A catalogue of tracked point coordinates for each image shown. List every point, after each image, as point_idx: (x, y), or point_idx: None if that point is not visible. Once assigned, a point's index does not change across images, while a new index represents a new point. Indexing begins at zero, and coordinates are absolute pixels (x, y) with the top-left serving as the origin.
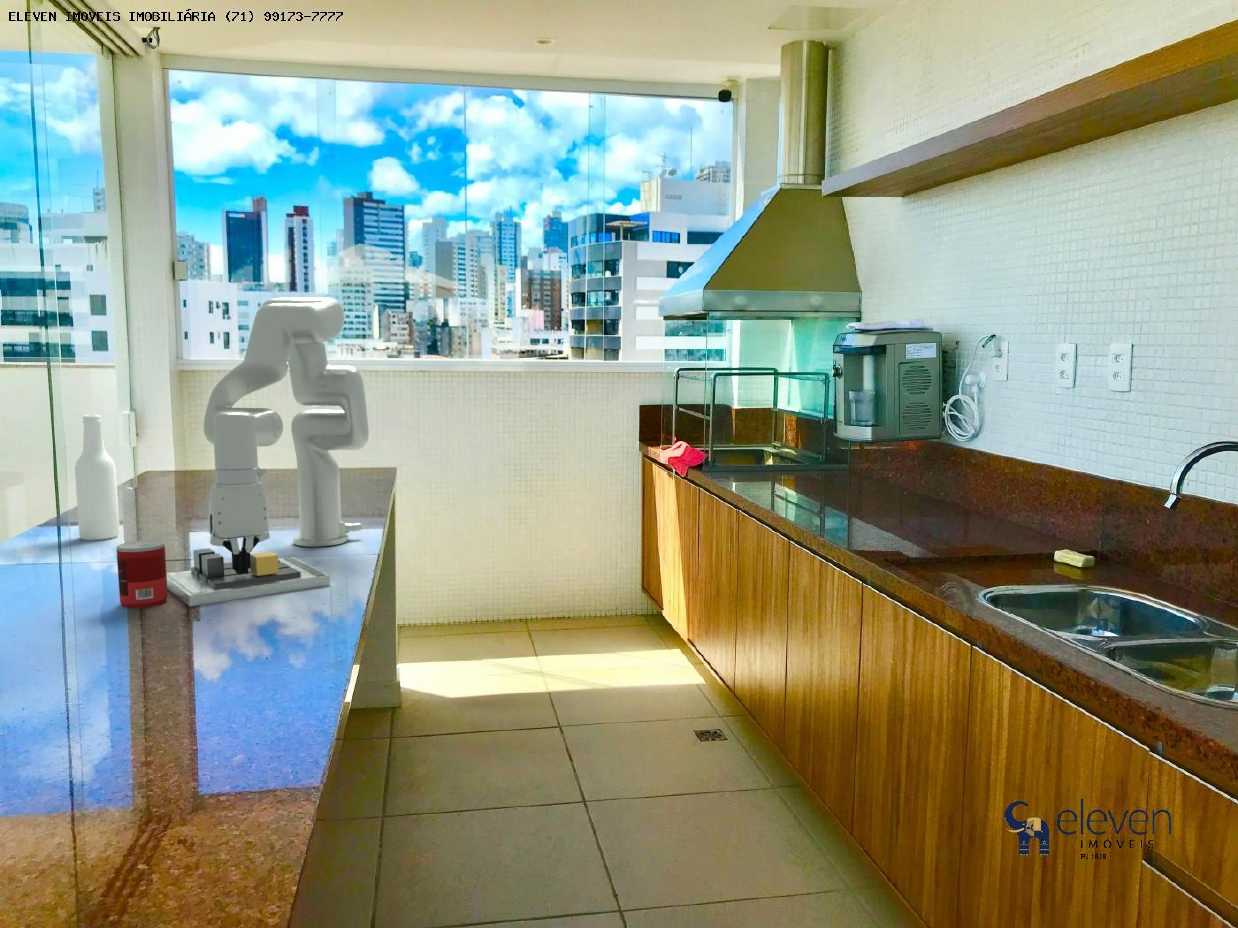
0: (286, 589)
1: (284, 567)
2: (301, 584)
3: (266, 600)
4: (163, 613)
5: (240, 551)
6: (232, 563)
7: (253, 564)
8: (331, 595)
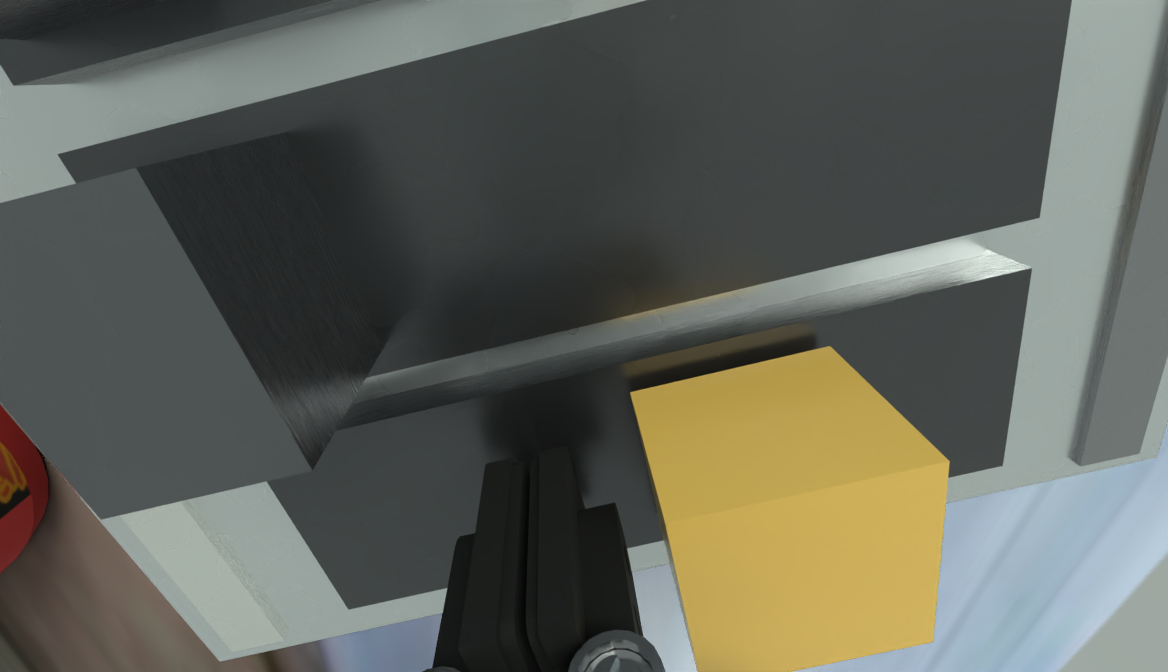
0: None
1: (974, 232)
2: None
3: (659, 600)
4: (147, 668)
5: (543, 641)
6: (454, 581)
7: (663, 529)
8: (971, 605)
